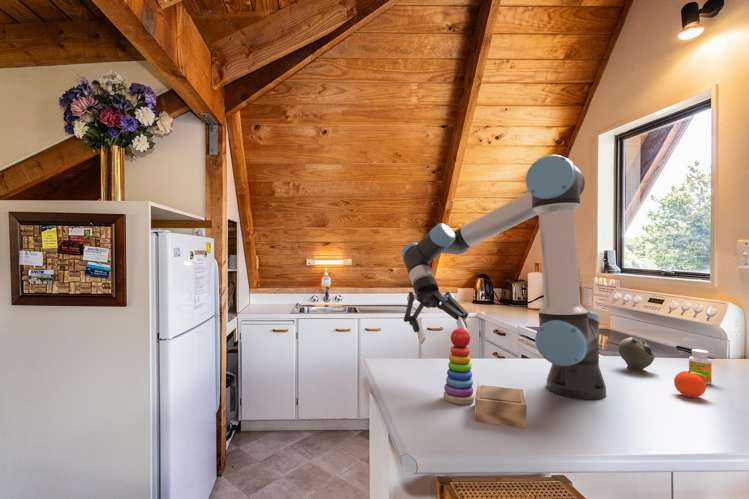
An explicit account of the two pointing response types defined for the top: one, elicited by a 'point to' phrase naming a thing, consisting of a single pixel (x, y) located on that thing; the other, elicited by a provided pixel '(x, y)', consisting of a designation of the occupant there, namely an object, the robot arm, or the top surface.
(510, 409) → the wooden block
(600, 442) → the top surface
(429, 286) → the robot arm
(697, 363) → the supplement bottle
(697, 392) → the clementine
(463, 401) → the stacking toy
